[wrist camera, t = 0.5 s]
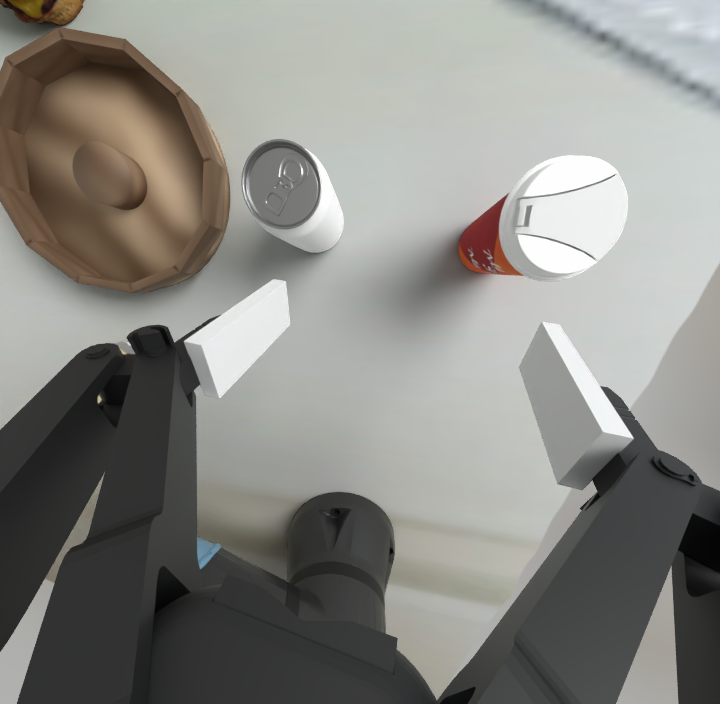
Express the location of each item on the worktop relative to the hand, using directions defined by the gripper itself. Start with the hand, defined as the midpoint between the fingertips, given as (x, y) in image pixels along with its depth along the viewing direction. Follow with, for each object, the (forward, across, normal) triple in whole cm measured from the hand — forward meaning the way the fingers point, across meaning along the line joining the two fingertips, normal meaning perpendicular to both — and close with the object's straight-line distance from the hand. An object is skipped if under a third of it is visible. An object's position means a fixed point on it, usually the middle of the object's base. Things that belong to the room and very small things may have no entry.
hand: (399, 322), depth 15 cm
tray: (+15, +32, -3) cm, 36 cm away
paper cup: (+21, -6, +1) cm, 22 cm away
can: (+18, +12, 0) cm, 22 cm away
